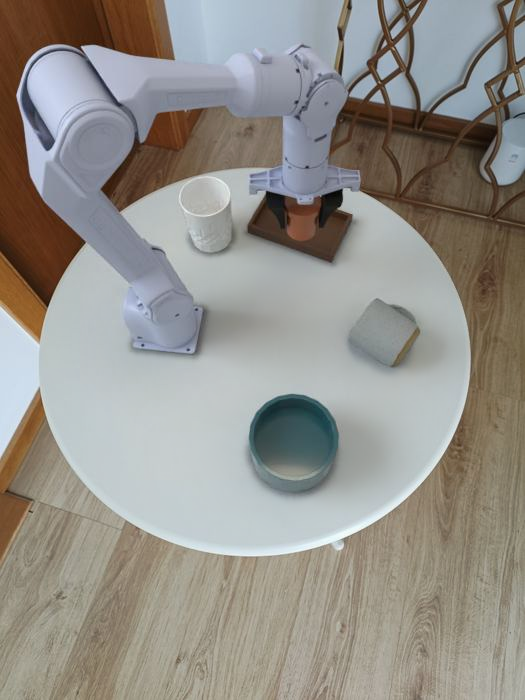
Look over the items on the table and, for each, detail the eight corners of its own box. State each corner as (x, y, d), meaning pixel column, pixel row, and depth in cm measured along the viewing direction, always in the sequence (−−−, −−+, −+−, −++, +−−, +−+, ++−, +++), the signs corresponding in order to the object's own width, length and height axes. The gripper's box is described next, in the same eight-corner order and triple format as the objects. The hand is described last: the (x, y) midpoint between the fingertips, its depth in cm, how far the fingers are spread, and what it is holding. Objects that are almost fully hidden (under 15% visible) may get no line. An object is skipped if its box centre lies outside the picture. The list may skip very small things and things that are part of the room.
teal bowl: (246, 487, 72) (243, 474, 65) (257, 408, 77) (255, 389, 70) (329, 497, 71) (335, 485, 64) (335, 417, 76) (341, 398, 69)
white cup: (240, 222, 91) (236, 180, 82) (228, 259, 88) (223, 220, 79) (196, 214, 92) (187, 172, 83) (182, 251, 89) (172, 211, 80)
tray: (247, 232, 90) (246, 225, 88) (270, 194, 94) (270, 186, 92) (331, 263, 87) (332, 256, 85) (351, 222, 91) (353, 214, 89)
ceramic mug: (391, 378, 78) (403, 356, 71) (343, 349, 80) (350, 324, 73) (426, 327, 82) (440, 300, 75) (380, 300, 84) (389, 272, 77)
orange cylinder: (290, 247, 78) (291, 220, 72) (278, 220, 80) (279, 192, 74) (324, 237, 78) (327, 210, 73) (311, 211, 80) (313, 182, 75)
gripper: (246, 178, 64) (251, 246, 76) (368, 174, 64) (353, 244, 76) (246, 135, 67) (251, 207, 79) (362, 131, 67) (349, 205, 79)
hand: (301, 223), depth 78 cm, fingers closed on orange cylinder, 5 cm apart
